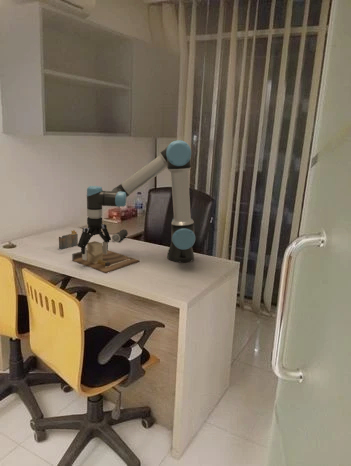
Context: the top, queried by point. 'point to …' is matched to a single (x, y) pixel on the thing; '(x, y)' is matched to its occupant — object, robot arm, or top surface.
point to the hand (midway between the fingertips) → (95, 256)
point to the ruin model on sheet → (68, 240)
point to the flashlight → (119, 235)
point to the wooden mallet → (95, 253)
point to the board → (112, 257)
